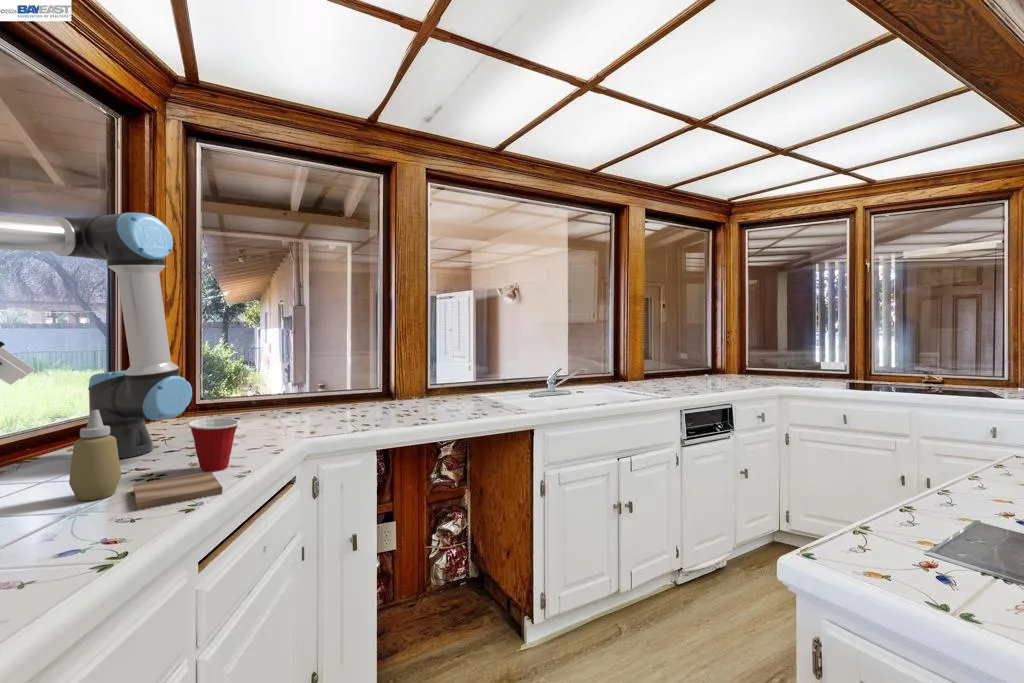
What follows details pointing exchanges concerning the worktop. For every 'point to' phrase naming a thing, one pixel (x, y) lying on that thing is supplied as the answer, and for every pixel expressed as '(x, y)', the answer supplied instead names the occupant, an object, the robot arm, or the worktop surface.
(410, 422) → the worktop surface
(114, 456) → the squeeze bottle
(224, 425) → the plastic cup
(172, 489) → the walnut board
